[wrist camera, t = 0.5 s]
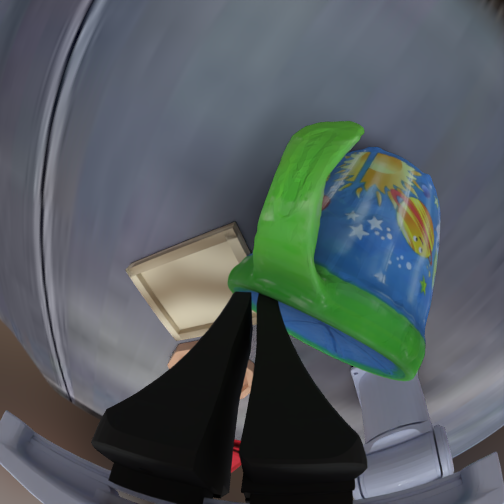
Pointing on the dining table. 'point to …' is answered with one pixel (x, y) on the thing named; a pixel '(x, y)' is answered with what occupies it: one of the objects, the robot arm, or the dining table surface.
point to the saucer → (186, 347)
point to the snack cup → (348, 250)
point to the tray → (191, 280)
